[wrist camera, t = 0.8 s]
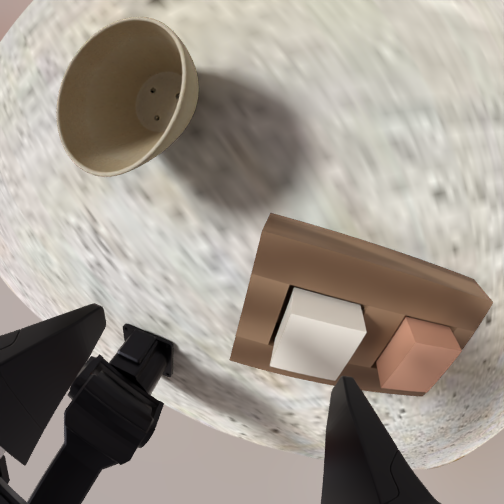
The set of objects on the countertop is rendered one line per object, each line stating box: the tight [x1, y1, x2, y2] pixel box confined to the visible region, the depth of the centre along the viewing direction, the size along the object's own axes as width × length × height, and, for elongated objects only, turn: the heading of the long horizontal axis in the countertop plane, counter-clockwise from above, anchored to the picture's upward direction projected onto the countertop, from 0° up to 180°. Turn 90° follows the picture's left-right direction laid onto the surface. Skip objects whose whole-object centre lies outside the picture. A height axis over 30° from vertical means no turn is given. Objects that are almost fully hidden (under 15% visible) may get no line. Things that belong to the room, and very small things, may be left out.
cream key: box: [270, 287, 367, 381], centre depth 18 cm, size 5×5×3 cm
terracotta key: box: [376, 316, 462, 392], centre depth 17 cm, size 5×5×3 cm
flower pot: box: [56, 17, 199, 177], centre depth 15 cm, size 10×10×7 cm
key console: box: [230, 213, 493, 396], centre depth 20 cm, size 12×20×4 cm, turn 77°
